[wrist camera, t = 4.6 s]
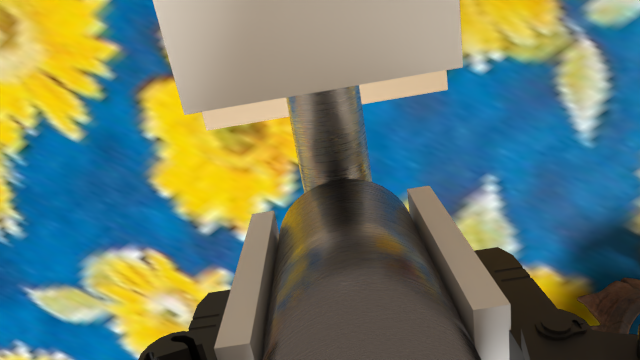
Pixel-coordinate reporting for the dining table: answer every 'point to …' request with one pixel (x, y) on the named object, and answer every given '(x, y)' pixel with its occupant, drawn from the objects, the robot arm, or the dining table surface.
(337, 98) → the shaft
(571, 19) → the dining table surface
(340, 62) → the wooden twin post stand
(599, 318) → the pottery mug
